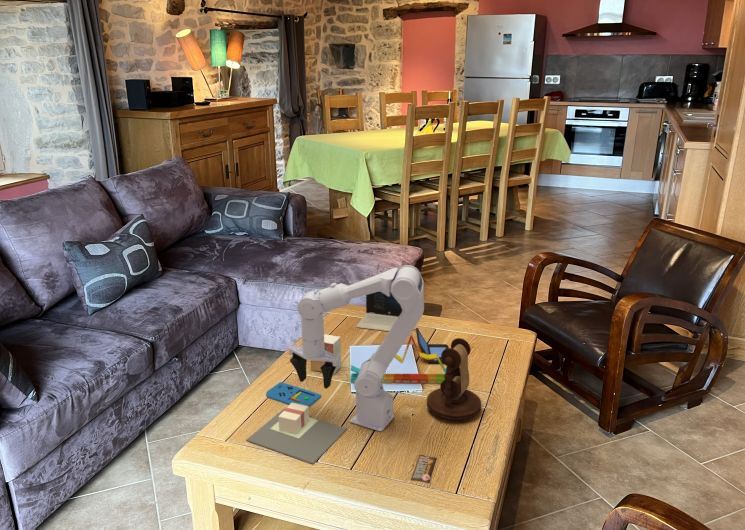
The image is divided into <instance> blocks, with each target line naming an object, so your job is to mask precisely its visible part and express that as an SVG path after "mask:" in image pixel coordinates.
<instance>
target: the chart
mask: <svg viewBox="0 0 745 530" xmlns="http://www.w3.org/2000/svg"><path fill="white" fill-rule="evenodd" d="M411 342H412V343H413V346H414V347H415V350H416V352H417V354H418V356H419V358H421V359H424V360H426V361H428V359H429V360H432V359H438V361H439V363H440V364H439V365H440V367H441V369H442V371H443V372H444V373H384V375H383V377H382V379H381V383H382V384H399V385H401V384H403V385H405V384H409V385H410V384H411V385H412V384H416V385H417V384H418V385H420V384H421V385H422V384H423V385H424V384H425V385H426V384H427V385H428V384H432V385H441V382H442V381H443V380H445V378H444V376H445V373H447V372H446V368H447V367H445V366H444V364H442V363H441V361H440V359H439V357H438V355H437V354H430V355H427V354H424V353H423V352H421V351H420V350H419V348H418V346H417V344H416V341H415V339H414V337H413V334H410V335H409V339H408V341H407V344H406V348H405V350H404V353H403V355H402V357H401V356H400V355H398V353H397V354H396V355H395V357H394V358H393V359H396V360H397V361H398V362H399V363H401V364H403V363H404V361H405V359H406V355H407V353H408V349H409V346H410V344H411ZM360 370H361V368H359V367H356V366H355V365H352V364H351V365H350V371H351V372H352V373H350V384H354V383H355V380H356V379H357V377H358V374H359V372H360ZM353 372H354V373H353Z"/></svg>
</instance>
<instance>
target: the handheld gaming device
mask: <svg viewBox="0 0 745 530" xmlns="http://www.w3.org/2000/svg"><path fill="white" fill-rule="evenodd" d="M265 397H266V398H268V399H271V400H273V401H277V402H280V403H282V404H285V405H288V406H289V405H290V404H291V403H296V404H301V405H305V406H308V407H309V408H310V407H311V406H313V405H314V404H315V403H316V402H318V401H319V400H320V399H321V398H322V394H321V393H317V392H315V391H311V390H308V389H305V388H302V387H298V386H295V385H292V384H290V383H286V382H284V381H283V382H282V381H279V382H278V383H276V384H275V385H274V386H273V387H271V388H270V389H268V390H267V391H266V394H265Z"/></svg>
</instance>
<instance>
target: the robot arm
mask: <svg viewBox="0 0 745 530" xmlns="http://www.w3.org/2000/svg"><path fill="white" fill-rule="evenodd" d="M424 283H425V282H424V279H423V277H422V274H421V272H420V270H419V269H418V268H417V267H415V266H414V265H411V264H405V265H403V266H401V267H399V268H398V267H393V268H390V269H389V270H386V271H383V272H381V273H379V274H376V275H373V276H371V277H367V278H365V279H363V280H360V281H358V282H355V283H352V284H349V285H347V284H345V283H342V282H341V283H336V282H332V283H331V284H330V285H329V286H328V287H324V288H323V289H318V288H317V289H314V290H311V291H308V292H306V293H305V294H304V295H303V297H302V298H301V299H300V301H299V302H298V305H297V311H298V312H297V313H298V314H299V315H300V318H301V319H300V323H301V324H300V325H301V344H302V346H300V345H292V346H290V347H289V348H288V355H290V356H292V357H290V359H289V361H290V364H291V366H293V368H294V369H295V371H296V373H297V376H298V380H299V383H303V382H304V381H305V380H306V379H307V361H310V362H311V361H322V362H325V364H324V365H323V366H321V367H320V369H321V371H322V372H321V374H322V379H323V388H324V389H326V390H327V389H328V388H330V386H331V383H332V380H333V376H334V375H333V373H334V371H335V369H336V367H337V365H338V364H339V363H340V357H338V356H335V355H333V354H331V353H330V352H328V351H326V350H325V347H324V334H325V328H324V327H325V326H324V325H325V324H324V313H327V312H330V311H334V310H336V309H339V308H342V307H346V306H349V305H350V302H351V300H352V299H355V298H356V299H357V298H358V297H364V296H366V295H368V294H371V293H375V292H379V291H380V292H382V293H383V294H385V295H387V296H389V297H390V294H391V293H392V295H393V297H394V298H395V299H396V300H397V302H398V303H399V304H400V305H401V308H402V310H403V311H402V312H401V314H400V315H399V317H398V318H397V320H396V322H395V323H394V325H393V326H392V328H391V329H390V331H387V334H386V336H385V337H383V339H382V341H381V343H380V345H378V348H377V349H376V351H375V352H374V353H372V355H371V356H370V357H369V358H368V359H366V360H365V361H363V362H362V363H361V366H360V369H361V370H360V371H359V374H358V377H357V379H356V380H355V383H353V384H354V389H355V410H356V411H355V413H356V414H354V416H352V417H351V419H350V421H349V423H352V424H354V425H358V426H361V427H363V428H364V427H365V428H368V429H371V430H375V431H377V432H382V431H384V429H385V428H386V427H387V426H388V425H389V423H391V421H393V419H394V418H395V414H394V396H393V394H392V393H390V392H387V390H385V389H384V386H383V383H381V379H382V377H383V375H384V374H386V372H387V369H388V367H389V366H390V364H391V363H392V361H393V360H394V359H395V358H394V357H395V355H396V354H397V355H398V352H399V351H400V349H401V348H402V347H403V345H404V344H405V342H406V341H407V340H408V338H409V337H410V336H411V333H412V332H413V330H414V329H415V327H416V326H417V324H418V323H419V322H420V319H421V318H422V317H423V314H424V311H425V300H424V299H425V298H424V297H425V296H424V294H425V292H424V285H425V284H424Z"/></svg>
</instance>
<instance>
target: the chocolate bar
mask: <svg viewBox="0 0 745 530" xmlns="http://www.w3.org/2000/svg"><path fill="white" fill-rule="evenodd" d="M437 460H438V457H434V456H433V457H432V456H428V455H422V454H419V455H418V459H417V461H416V464H415V467H414V470H413V473H412V475H411V477H410V479H409V481H414V482H415V481H416V482H422V483H425V484H430V483H431V479H432V476H433V473H434V470H435V467H436V463H437Z"/></svg>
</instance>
